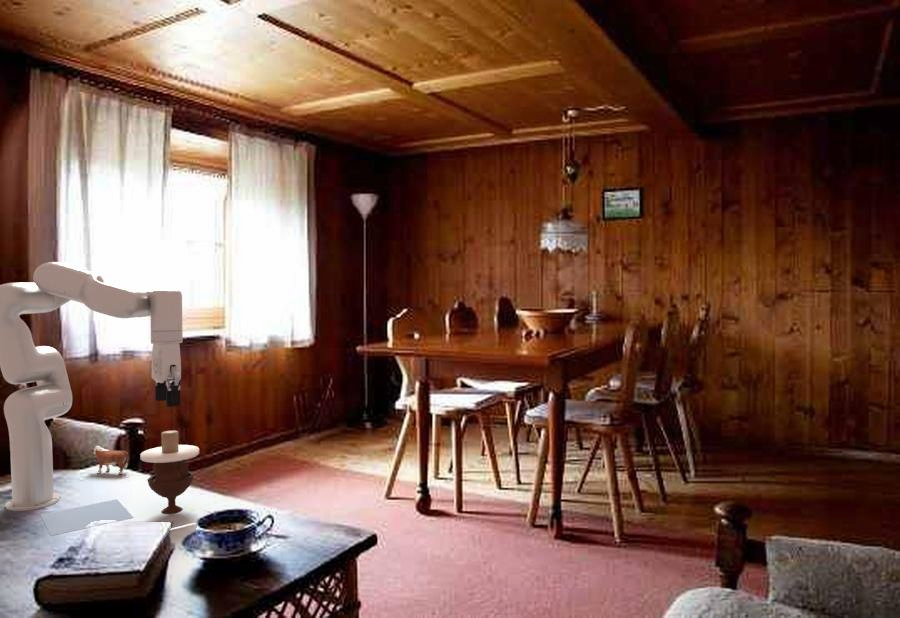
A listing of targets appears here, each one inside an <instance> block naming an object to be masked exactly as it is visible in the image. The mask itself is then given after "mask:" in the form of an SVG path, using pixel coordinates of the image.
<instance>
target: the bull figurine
mask: <svg viewBox="0 0 900 618" xmlns="http://www.w3.org/2000/svg"><path fill="white" fill-rule="evenodd" d="M90 452H92V453H93V455H95V456H96V461H98V464H99V466H98V471H97V472H101V473H102V470H103V466H106V470H110V471H111V469H110V467H109V466H110V465H112V466H113V467H115V466H116V465H118V467H119V470H118V471H120V472H118V474H121V473H122V474H123V472H124V469H127V468H128V465H129V453H128V452H127V451H126V450H111V449H107V446H102V447H101V446H100V445H96V446H95V447H94V448H91V449H90ZM122 474H121V475H122Z"/></svg>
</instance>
